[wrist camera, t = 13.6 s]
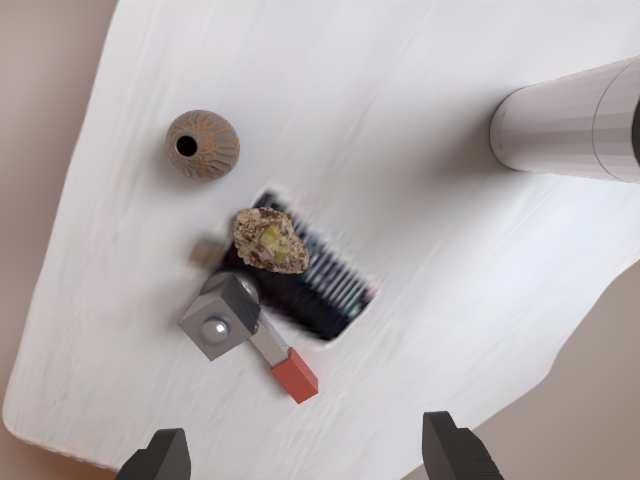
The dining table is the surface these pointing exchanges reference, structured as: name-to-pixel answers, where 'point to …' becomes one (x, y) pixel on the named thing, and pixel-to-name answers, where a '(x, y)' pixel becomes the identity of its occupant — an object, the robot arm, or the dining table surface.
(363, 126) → the dining table surface
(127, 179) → the dining table surface
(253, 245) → the mineral rock
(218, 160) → the vase
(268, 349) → the ratchet
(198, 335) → the domed steel cube
